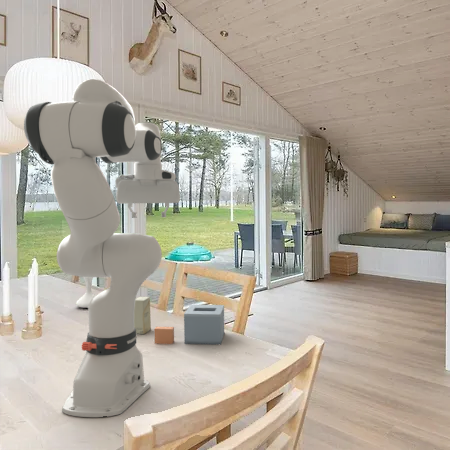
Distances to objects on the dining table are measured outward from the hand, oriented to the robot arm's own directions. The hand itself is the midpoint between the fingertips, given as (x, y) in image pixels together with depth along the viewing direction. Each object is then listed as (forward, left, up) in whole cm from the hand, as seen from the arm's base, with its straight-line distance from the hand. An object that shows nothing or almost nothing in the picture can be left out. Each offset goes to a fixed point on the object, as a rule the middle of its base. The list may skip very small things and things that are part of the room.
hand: (149, 217), depth 132 cm
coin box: (+7, -17, -42) cm, 46 cm away
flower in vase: (+46, +42, -42) cm, 75 cm away
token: (+2, -4, -42) cm, 42 cm away
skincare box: (+13, +7, -42) cm, 44 cm away
